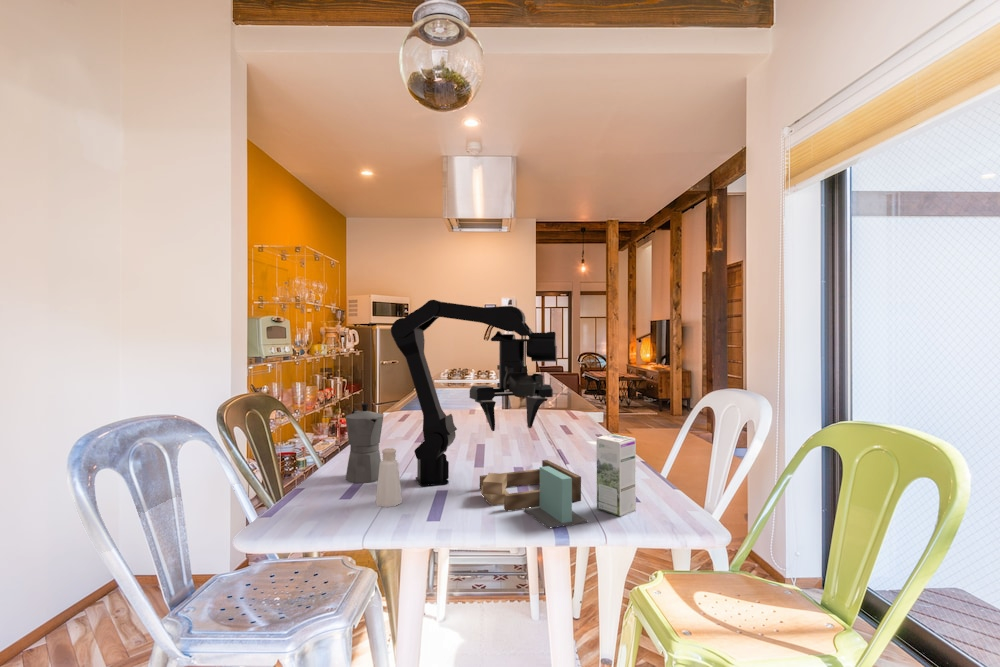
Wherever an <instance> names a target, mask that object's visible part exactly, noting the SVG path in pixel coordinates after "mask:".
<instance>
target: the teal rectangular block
mask: <svg viewBox="0 0 1000 667" xmlns="http://www.w3.org/2000/svg"><path fill="white" fill-rule="evenodd" d="M539 469H540V483H539V490H540V508H541V509H543V510H544V511H545V512H547V513H548V514H550V515H551V516H553V517H554V518H555V519H557V520H558V521H560V522H561V523H567V522H572V511H573V502H572V478H571V477H569V476H567V475H565V474H563V473H561V472H559V471H557V470H555V469H553V468H551V467H549V466H545V467H542V466H540V467H539Z"/></svg>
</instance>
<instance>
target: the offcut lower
mask: <svg viewBox="0 0 1000 667" xmlns="http://www.w3.org/2000/svg"><path fill="white" fill-rule="evenodd" d="M480 491H481V492H480V493H481V494H482V495H483V496H484V498H485V499H486V500H487V501H488V502H489V503H490V504H489V503H488V502H487V501H486V500H485V499H484V498H483V499H484V500H485V501H486V502H487V503H488V504H489V505H490V506H491V505H494V506H498V505H497V504H504V494H510V493H509V492H508V491H507V490H506V489H505V490H504V492H503V494H502V495H495V494H483V485H481V490H480ZM481 494H480V495H481ZM482 495H481V496H482Z"/></svg>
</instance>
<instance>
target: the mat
mask: <svg viewBox="0 0 1000 667" xmlns="http://www.w3.org/2000/svg"><path fill="white" fill-rule="evenodd" d="M526 511H527V512H528V513H527V512H526ZM524 512H526V513H527V514H529V515H530V516H531V515H532V517H533V519H535V518H536V520H537V521H538V522H539V521H540V522H539V523H541V524H542V523H543V524H544V525H543V524H542V525H543V526H545V525H546V526H547V527H548V528H547V527H546V526H545V527H546V528H547V529H549V528H550V527H556V528H558V527H557V526H562V527H564V526H563V525H568V526H573V525H572V524H574V525H579V524H585V522H586V523H588V520H587V519H586V518H584V517H582V516H581V515H579V514H578V513H576V512H575V511H574V510H572V522H567V523H561V522H560V521H558V520H557V519H555V518H554V517H553V516H551V515H550V514H548V513H547V512H545V511H544V510H543V509H541V508H540V506H538V507H531V508H525V509H524ZM550 529H551V528H550Z"/></svg>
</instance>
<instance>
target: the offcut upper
mask: <svg viewBox="0 0 1000 667" xmlns="http://www.w3.org/2000/svg"><path fill="white" fill-rule="evenodd" d="M500 473H501V472H498V473H497V472H488V474H486V475H487V476H486V478H485V479H484V481H483V494H495V495H502V494H503V492H504V490H506V486H507V474H500Z"/></svg>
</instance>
